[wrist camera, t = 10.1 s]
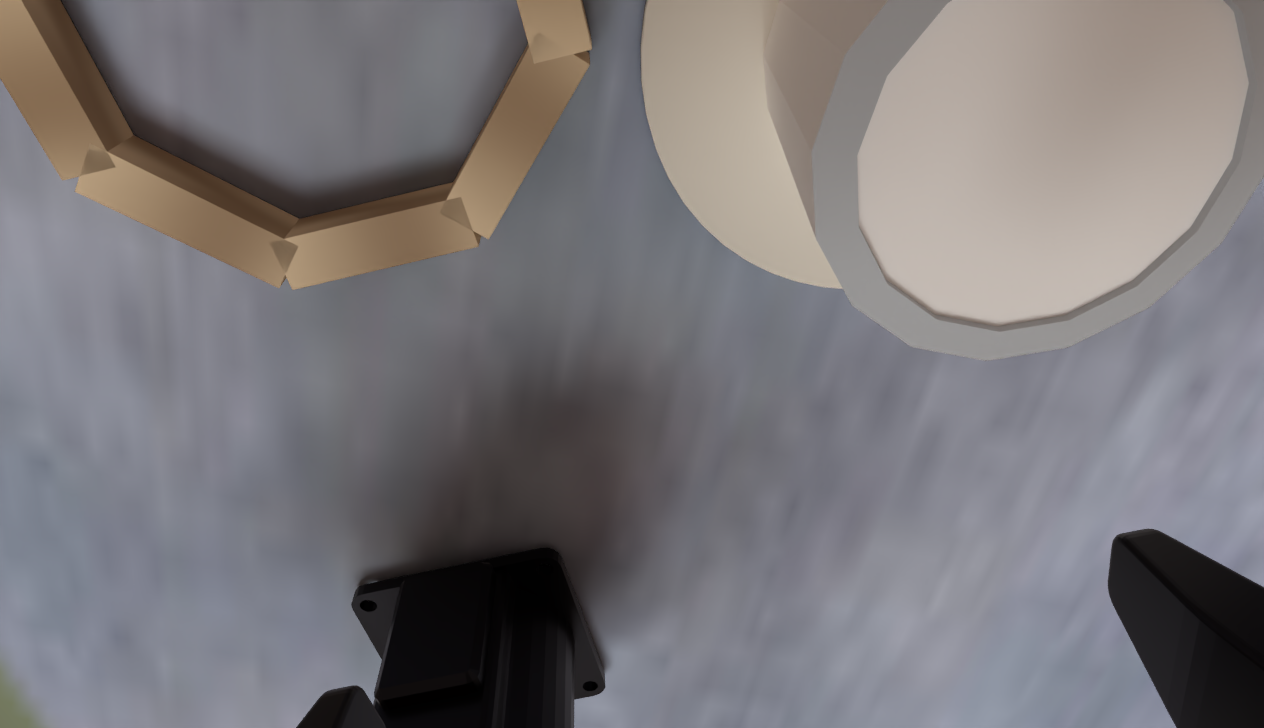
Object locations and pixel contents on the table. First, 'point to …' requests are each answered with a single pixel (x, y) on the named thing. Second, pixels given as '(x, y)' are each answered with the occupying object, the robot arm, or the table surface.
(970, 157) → the shot glass
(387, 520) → the table surface
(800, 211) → the coaster mat
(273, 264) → the oak collar
